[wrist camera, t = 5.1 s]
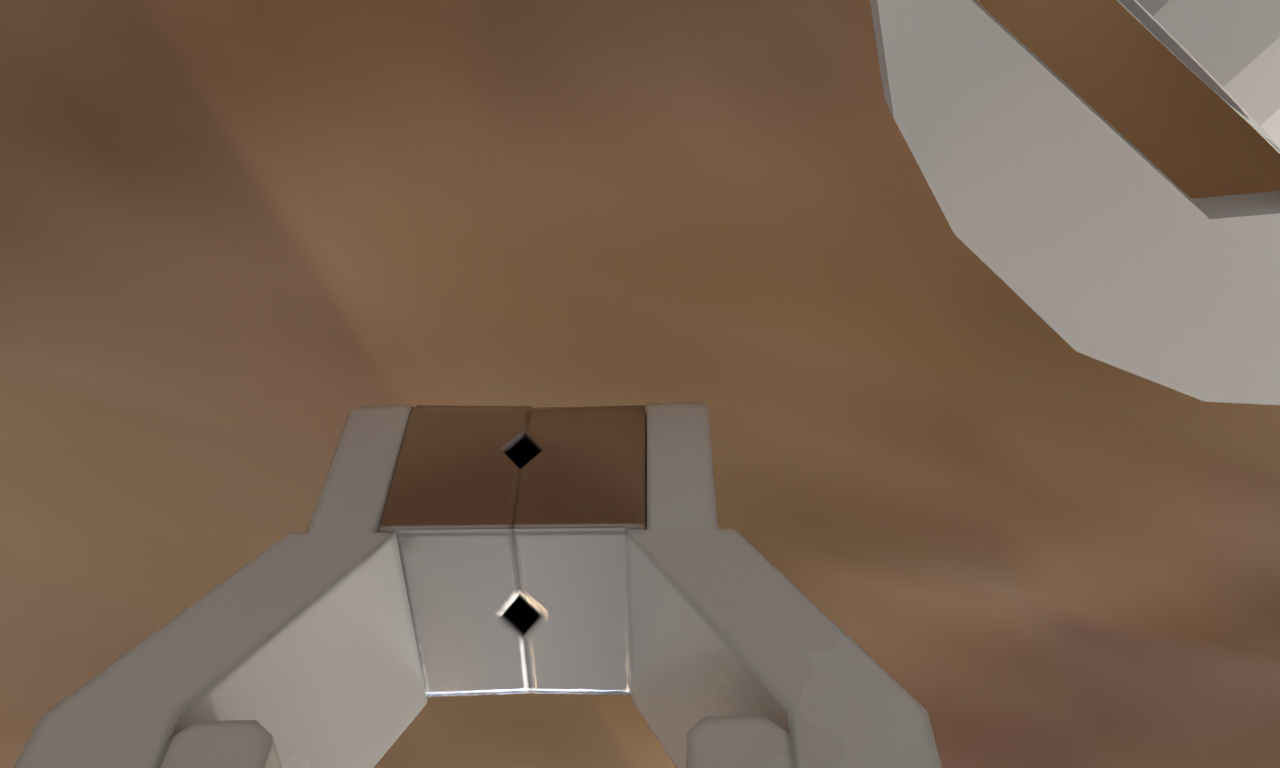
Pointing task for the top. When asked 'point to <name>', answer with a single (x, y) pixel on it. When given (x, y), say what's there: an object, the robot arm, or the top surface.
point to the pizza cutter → (1100, 189)
